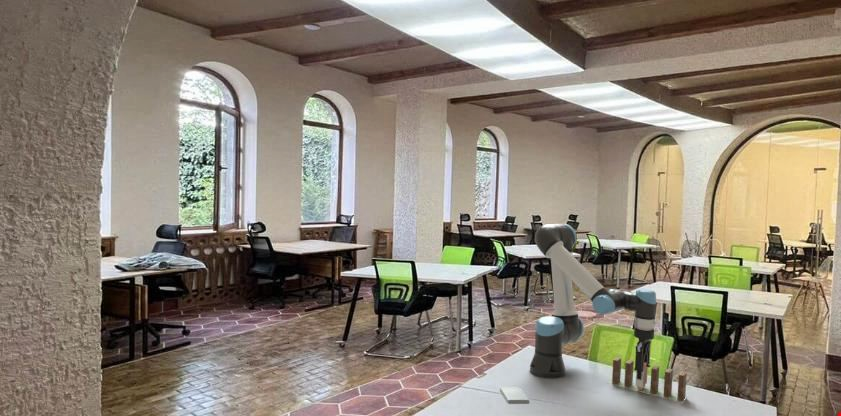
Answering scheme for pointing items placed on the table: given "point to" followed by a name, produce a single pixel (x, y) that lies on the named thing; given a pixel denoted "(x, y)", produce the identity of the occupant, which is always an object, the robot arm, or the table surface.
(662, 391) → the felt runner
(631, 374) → the domino
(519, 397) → the hard drive
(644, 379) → the domino
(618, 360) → the domino
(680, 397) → the domino
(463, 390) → the table surface
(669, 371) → the domino
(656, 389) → the domino
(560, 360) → the robot arm
